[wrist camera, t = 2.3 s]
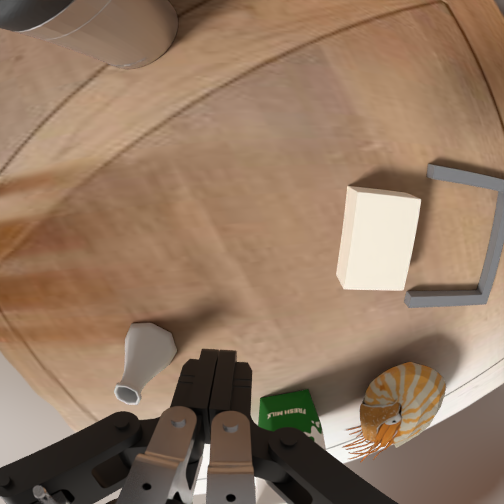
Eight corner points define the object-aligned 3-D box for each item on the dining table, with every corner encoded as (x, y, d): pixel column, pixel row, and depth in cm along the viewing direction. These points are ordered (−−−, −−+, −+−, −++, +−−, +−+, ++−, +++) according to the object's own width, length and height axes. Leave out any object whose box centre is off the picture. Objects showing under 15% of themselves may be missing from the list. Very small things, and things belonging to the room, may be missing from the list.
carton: (346, 185, 32) (357, 192, 28) (405, 192, 32) (421, 199, 28) (335, 273, 35) (343, 289, 32) (390, 275, 35) (403, 290, 32)
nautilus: (365, 444, 48) (302, 421, 46) (455, 371, 40) (398, 334, 38) (370, 478, 40) (301, 460, 39) (473, 406, 32) (415, 374, 31)
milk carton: (266, 429, 45) (266, 540, 26) (252, 393, 42) (246, 520, 23) (321, 420, 44) (338, 531, 25) (313, 382, 41) (334, 509, 22)
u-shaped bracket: (428, 163, 30) (434, 165, 29) (507, 180, 30) (514, 182, 29) (404, 301, 36) (408, 307, 35) (480, 299, 36) (486, 304, 35)
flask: (179, 327, 38) (158, 381, 29) (175, 369, 41) (158, 423, 31) (125, 315, 38) (93, 363, 29) (126, 357, 41) (101, 406, 31)
